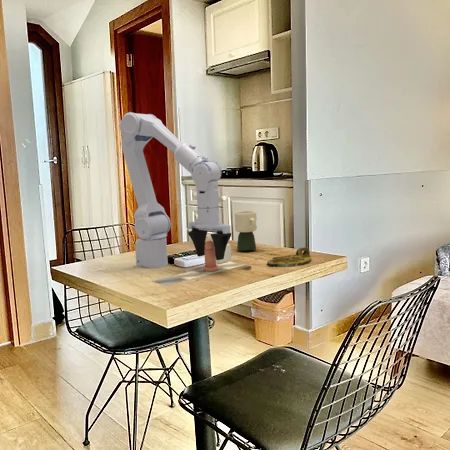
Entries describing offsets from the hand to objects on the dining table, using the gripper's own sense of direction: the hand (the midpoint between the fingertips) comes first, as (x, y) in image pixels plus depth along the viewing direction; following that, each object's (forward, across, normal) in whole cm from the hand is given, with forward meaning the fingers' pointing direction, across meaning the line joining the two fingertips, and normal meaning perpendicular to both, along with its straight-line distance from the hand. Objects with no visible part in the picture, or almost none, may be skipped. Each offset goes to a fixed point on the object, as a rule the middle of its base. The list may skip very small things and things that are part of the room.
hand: (210, 257), depth 128 cm
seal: (+5, +9, +23) cm, 25 cm away
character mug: (+5, -14, +28) cm, 32 cm away
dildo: (+3, 0, 0) cm, 3 cm away
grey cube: (+4, -10, +12) cm, 17 cm away
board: (+4, 0, -4) cm, 6 cm away
